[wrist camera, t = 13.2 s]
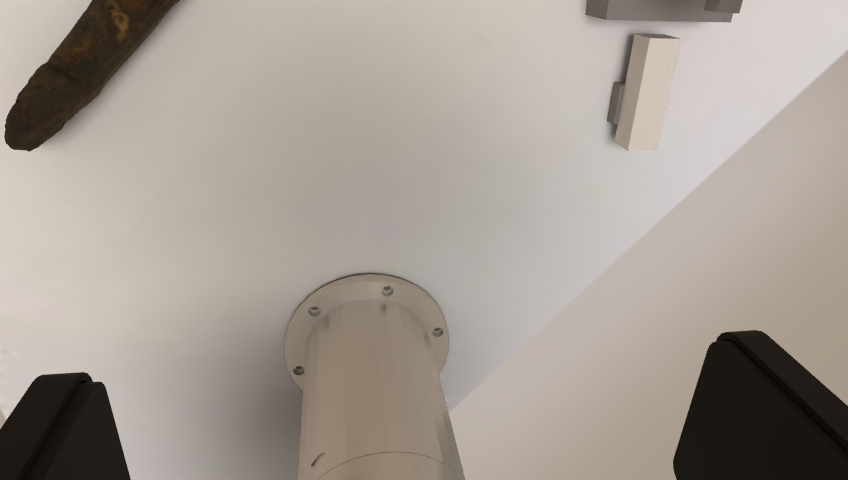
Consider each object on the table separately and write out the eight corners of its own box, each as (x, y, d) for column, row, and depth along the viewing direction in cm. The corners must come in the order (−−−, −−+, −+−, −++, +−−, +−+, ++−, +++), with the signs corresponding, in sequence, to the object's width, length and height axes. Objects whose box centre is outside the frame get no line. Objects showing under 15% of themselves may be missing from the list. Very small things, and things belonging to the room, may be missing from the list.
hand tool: (204, -146, 30) (184, -160, 26) (263, -80, 32) (253, -84, 28) (-9, 103, 34) (-56, 124, 30) (54, 150, 36) (17, 176, 32)
